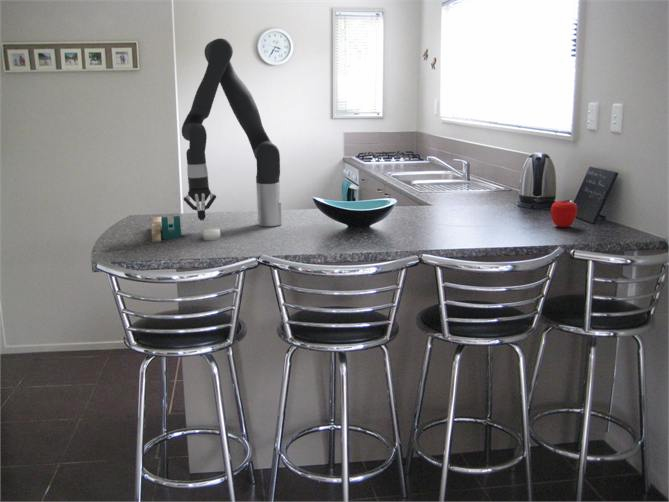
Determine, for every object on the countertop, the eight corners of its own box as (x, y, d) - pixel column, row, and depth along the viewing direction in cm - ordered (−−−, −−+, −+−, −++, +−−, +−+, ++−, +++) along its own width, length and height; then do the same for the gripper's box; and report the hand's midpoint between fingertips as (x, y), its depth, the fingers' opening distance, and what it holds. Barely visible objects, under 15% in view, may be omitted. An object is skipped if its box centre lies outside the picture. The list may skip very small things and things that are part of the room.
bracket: (181, 238, 250) (179, 217, 248) (162, 239, 249) (161, 218, 247) (179, 228, 267) (178, 209, 265) (162, 229, 266) (160, 210, 264)
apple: (545, 227, 259) (547, 199, 256) (556, 223, 266) (558, 196, 263) (569, 230, 253) (571, 202, 250) (580, 226, 259) (582, 199, 257)
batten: (162, 227, 268) (161, 216, 266) (160, 241, 245) (159, 229, 244) (154, 228, 267) (153, 216, 266) (152, 241, 244) (151, 229, 243)
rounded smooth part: (220, 236, 253) (219, 227, 252) (221, 240, 246) (220, 230, 246) (202, 237, 251) (202, 228, 250) (203, 241, 245) (202, 231, 244)
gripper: (214, 173, 259) (218, 216, 263) (179, 175, 256) (184, 219, 260) (216, 175, 252) (219, 220, 256) (180, 178, 249) (184, 223, 253)
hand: (201, 219), depth 258 cm, fingers closed
